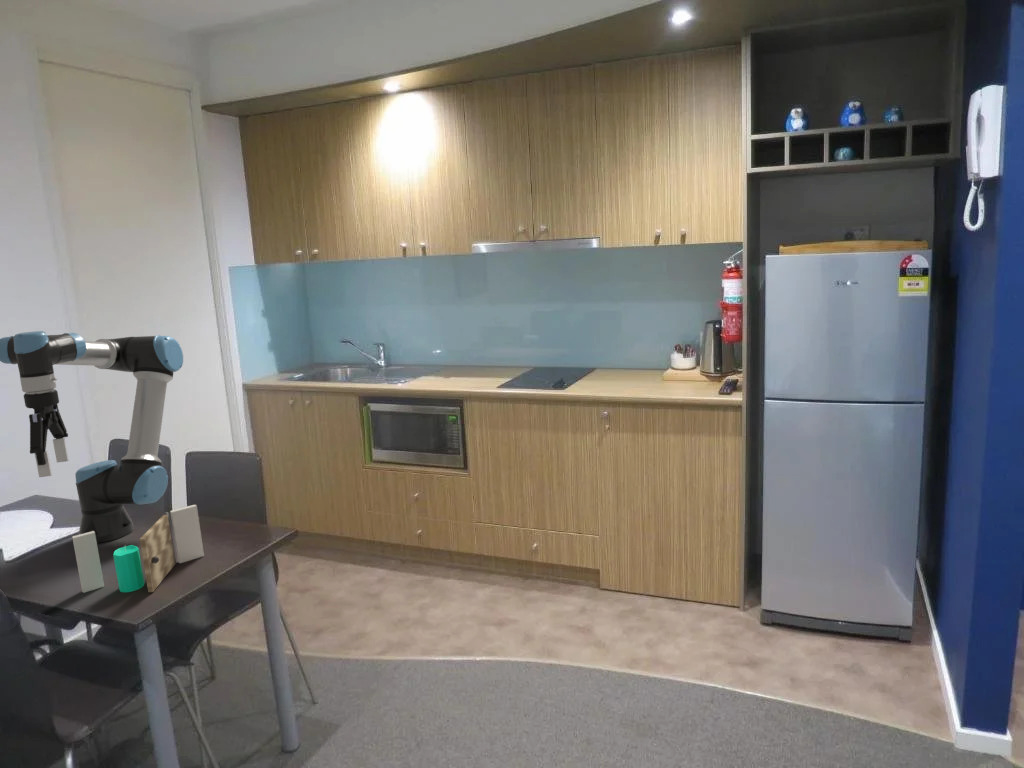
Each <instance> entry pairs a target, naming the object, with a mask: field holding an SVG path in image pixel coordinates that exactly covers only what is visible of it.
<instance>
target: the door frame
mask: <svg viewBox="0 0 1024 768" xmlns="http://www.w3.org/2000/svg"><path fill="white" fill-rule="evenodd" d="M169 511H170V512H167V511H166V512H164V513H163V515H168V520H169V527H170V533H171V540H172V546H173V553H174V559H175V565H176V564H177V563H179V564H183V563H186V562H189V561H193V560H195V559H200V558H203V557H205V552H204V551H205V550H204V545H203V540H202V531H201V526H200V517H199V511H198V506H197V504H192V505H187V506H183V507H180V508H176V509H173V510H169ZM169 515H170V516H169ZM170 518H171V521H170ZM171 524H172V525H171ZM171 526H172V528H171ZM172 533H173V534H172ZM71 537H72V542H73V543H72V544H73V547H74V548H73V549H74V553H75V558H76V559H75V560H76V566H77V570H78V576H79V582H80V587H81V592H82V593H87V592H88V593H89V592H91V591H94V590H97V589H100V588H104V587H105V582H104V576H103V571H102V570H103V569H102V566H101V561H100V559H101V558H100V554H99V549H98V543H97V542H96V536H95V532H94V531H91V532H88V533H84V534H80V535H79V534H77V535H73V536H71ZM173 539H174V540H173ZM174 545H175V547H174ZM175 551H176V553H175ZM176 557H177V562H176Z"/></svg>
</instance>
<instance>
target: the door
mask: <svg viewBox="0 0 1024 768" xmlns="http://www.w3.org/2000/svg"><path fill="white" fill-rule="evenodd" d="M169 520H170V519H169ZM169 520H168V515H165V514H163V515H162V516H160V518H159V519H158V520H156V522H155V523H154V524H153V525H151V527H150V528H149V529H148V530H147V531H146V532H145V533H144V534H143V535H142V536H141V537H140V538H139V544H140V549H141V555H142V556H141V557H142V563H143V568H144V573H145V580H146V581H145V582H146V587H147V592H148V593H153V592H154V591H155V590H156V589H157V588H158V586H159V585H160V584H161V583H162V581H163V580H164V579H165V578H166V576H167V575H168V574H169V573H170V572H171V571H172V569H173V568H174V566H175V565H176V564H175V559H176V558H175V559H174V553H173V546H174V545H173V546H172V540H171V533H172V532H171V533H170V527H169Z"/></svg>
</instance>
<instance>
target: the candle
mask: <svg viewBox="0 0 1024 768" xmlns="http://www.w3.org/2000/svg"><path fill="white" fill-rule="evenodd" d="M113 561H114V562H113V563H114V567H115V574H116V578H117V584H118V585H117V586H118V589H119V590H118V591H120V592H121V593H130V592H135V591H137V590H138V591H139V590H140V589H142V588H143V587H144V586H145V578H144V572H143V566H142V560H141V555H140V548H139V547H138V546H137V545H133V544H130V545H124V546H122V547H119V548H117V549H115V550H114V552H113Z"/></svg>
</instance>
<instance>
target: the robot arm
mask: <svg viewBox="0 0 1024 768" xmlns="http://www.w3.org/2000/svg"><path fill="white" fill-rule="evenodd" d="M0 362H1V363H3V364H5V365H8V364H9V365H17V368H18V372H19V379H20V380H19V381H20V385H21V391H22V392H23V393H24V394H23V401H24V406H25V407H26V408H27V409H33V413H32V414H29V416H28V419H29V454H34V458H35V462H36V463H35V464H36V469H37V472H38V478H45V477H52V475H53V473H52V468H51V462H50V458H49V457H50V456H49V453H48V450H47V439H48V431H49V432H50V433H51V435H52V437H53V439H52V443H53V449H54V454H55V459H56V463H64V462H69V455H68V449H67V442H66V438H68V437H69V434H68V431H67V428H66V426H65V423H64V421H63V418H62V415H61V413H60V410H59V403H60V398H59V394H58V390H57V389H56V388H57V383H56V381H57V380H58V377H56V376H55V373H54V371H55V370H54V366H53V365H65V366H66V365H67V366H94V367H95V368H97V369H100V370H110V371H111V370H112V371H118V372H126V373H132V375H133V377H135V379H136V380H137V381H136V388H135V396H134V402H133V403H134V404H133V410H132V418H131V424H130V432H129V439H128V445H127V451H126V452H127V453H126V454H125V456H123V457H121V459H120V462H119V463H120V464H119V466H118V463H117V461H116V460H114V459H108V460H102V461H99V462H95V463H92V464H89V465H86V466H83V467H80V468H79V469H77V471H76V472H75V474H74V475H75V486H76V490H77V496H78V500H79V506H80V511H81V519H80V524H79V529H78V530H79V531H78V535H80V534H84V533H88V532H91V531H94V532H95V536H96V542H97V544H99V543H105V542H110V541H115V540H117V539H121V538H123V537H125V536H127V535H129V534H130V533H131V532H133V530H134V523H133V520H132V519H131V517H130V515H129V513H128V512H127V510H126V508H125V506H124V504H125V505H142V506H143V505H145V504H153V503H156V502H157V501H159V500H160V499H161V498H162V497H163V496H164V495H165V492H166V490H167V488H168V484H169V475H168V472H167V470H166V469H165V468H164V467H163V466H162V465H163V464H162V463H163V462H162V460H161V459H160V457H158V454H159V448H160V447H159V446H160V440H161V431H162V423H163V416H164V408H165V402H166V394H167V393H166V392H167V387H168V386H167V385H168V383H169V382H170V381H172V380H173V378H174V373H176V372H178V371H179V370H181V368H182V367H183V365H184V364H183V363H184V353H183V349H182V347H181V345H180V344H179V342H178V341H177V339H175V338H174V337H172V336H169V335H160V334H157V335H150V336H148V335H145V336H142V335H141V336H126V337H118V338H108V339H107V338H99V339H97V340H95V341H92V340H90V341H89V340H85V339H84V338H83V336H81V335H80V334H78V333H75V332H69V333H67V332H64V333H61V334H48V333H46V332H45V331H43V330H39V331H38V330H37V331H35V330H34V331H27V332H21V333H20V332H19V333H17V334H14V336H13V335H11V336H10V335H9V336H4V337H2V338H0Z"/></svg>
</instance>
